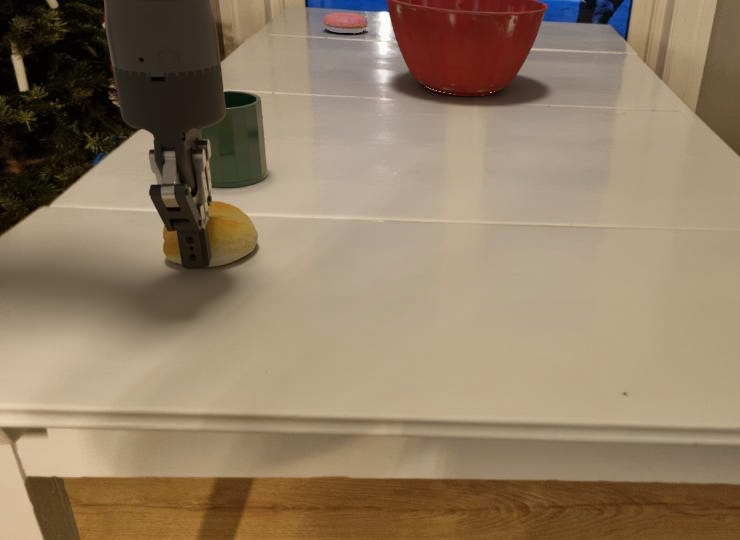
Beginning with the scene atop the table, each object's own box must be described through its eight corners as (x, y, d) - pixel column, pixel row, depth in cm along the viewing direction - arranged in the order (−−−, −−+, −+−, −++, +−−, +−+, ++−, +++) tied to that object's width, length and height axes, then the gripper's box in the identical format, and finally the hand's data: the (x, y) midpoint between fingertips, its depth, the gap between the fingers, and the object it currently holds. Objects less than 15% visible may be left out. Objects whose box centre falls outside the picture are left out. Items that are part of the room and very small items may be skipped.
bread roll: (165, 276, 62) (158, 234, 60) (165, 234, 69) (158, 195, 67) (264, 264, 65) (260, 224, 63) (253, 225, 72) (249, 188, 70)
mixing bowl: (536, 75, 143) (544, -7, 136) (543, 113, 117) (553, 14, 110) (395, 67, 143) (396, -16, 136) (372, 102, 117) (371, 2, 110)
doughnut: (370, 29, 181) (370, 11, 179) (365, 36, 171) (364, 18, 169) (327, 26, 181) (326, 9, 179) (319, 34, 171) (318, 15, 169)
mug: (281, 172, 86) (276, 98, 82) (231, 193, 79) (222, 113, 75) (211, 154, 90) (202, 82, 86) (157, 171, 84) (145, 95, 80)
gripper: (134, 42, 58) (166, 235, 66) (86, 76, 47) (132, 306, 55) (230, 43, 60) (250, 232, 68) (206, 77, 48) (234, 301, 56)
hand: (197, 265), depth 61 cm, fingers closed
